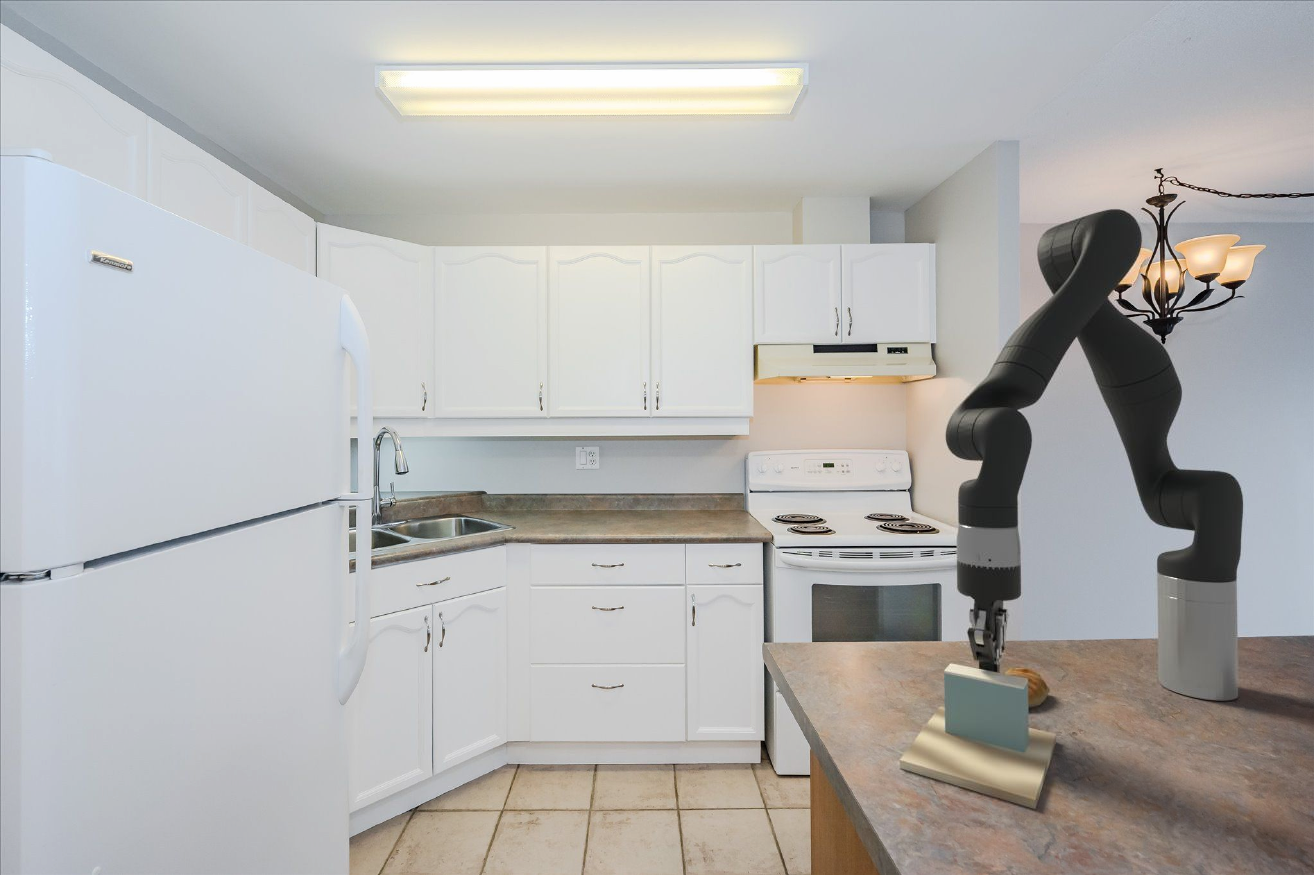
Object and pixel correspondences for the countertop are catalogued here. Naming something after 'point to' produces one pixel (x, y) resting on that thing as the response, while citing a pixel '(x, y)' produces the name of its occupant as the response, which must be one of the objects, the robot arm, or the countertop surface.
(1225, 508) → the robot arm
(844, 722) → the countertop surface
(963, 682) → the slab
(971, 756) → the board
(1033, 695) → the pastry
